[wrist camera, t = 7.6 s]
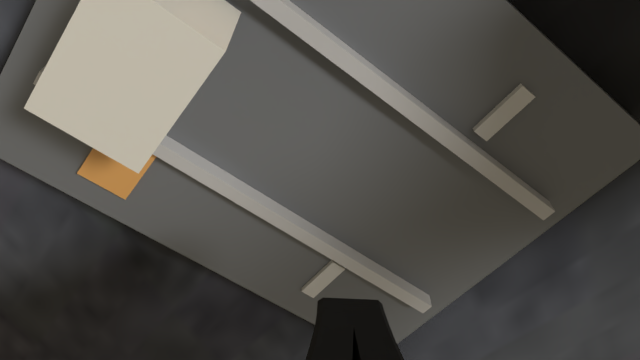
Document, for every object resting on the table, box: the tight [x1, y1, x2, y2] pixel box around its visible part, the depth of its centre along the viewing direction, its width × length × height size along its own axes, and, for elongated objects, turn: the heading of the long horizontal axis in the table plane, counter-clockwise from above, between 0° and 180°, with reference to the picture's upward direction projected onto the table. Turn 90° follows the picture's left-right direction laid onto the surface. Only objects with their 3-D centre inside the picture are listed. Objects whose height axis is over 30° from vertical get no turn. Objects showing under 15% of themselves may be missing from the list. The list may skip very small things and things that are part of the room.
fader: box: [24, 0, 241, 174], centre depth 14 cm, size 3×4×3 cm
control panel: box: [0, 0, 640, 344], centre depth 18 cm, size 18×14×3 cm
